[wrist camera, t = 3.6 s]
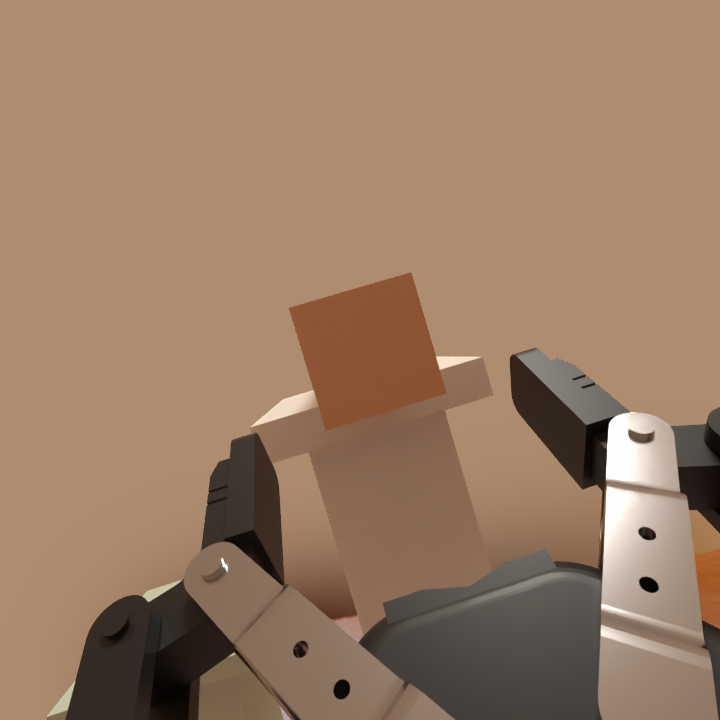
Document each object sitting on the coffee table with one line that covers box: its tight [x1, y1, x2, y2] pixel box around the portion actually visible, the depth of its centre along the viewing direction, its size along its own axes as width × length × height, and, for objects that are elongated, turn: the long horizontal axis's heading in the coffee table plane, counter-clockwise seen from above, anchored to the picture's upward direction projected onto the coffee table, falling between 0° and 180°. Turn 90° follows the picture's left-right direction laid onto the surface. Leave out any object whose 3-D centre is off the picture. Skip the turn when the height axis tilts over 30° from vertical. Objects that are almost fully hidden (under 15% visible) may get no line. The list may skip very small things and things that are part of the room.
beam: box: [289, 273, 447, 430], centre depth 25 cm, size 22×4×4 cm, turn 3°
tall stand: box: [250, 356, 493, 635], centre depth 30 cm, size 14×12×32 cm
